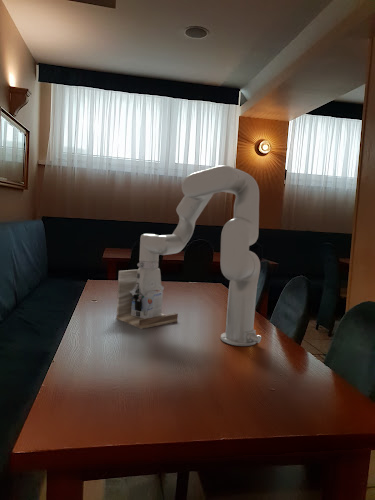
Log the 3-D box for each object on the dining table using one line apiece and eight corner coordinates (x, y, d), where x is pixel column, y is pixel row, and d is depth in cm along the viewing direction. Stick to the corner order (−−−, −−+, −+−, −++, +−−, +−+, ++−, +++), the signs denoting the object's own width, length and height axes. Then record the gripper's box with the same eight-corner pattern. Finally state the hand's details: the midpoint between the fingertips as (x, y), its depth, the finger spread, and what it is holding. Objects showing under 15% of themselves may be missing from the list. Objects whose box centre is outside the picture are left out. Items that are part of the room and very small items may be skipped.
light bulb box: (130, 315, 152) (131, 289, 151) (140, 312, 158) (141, 286, 157) (152, 320, 147) (154, 293, 146) (162, 317, 153) (163, 290, 152)
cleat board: (177, 321, 153) (180, 274, 151) (141, 328, 140) (144, 277, 139) (151, 312, 164) (154, 268, 162) (116, 318, 152) (118, 270, 150)
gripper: (136, 267, 142) (134, 314, 144) (171, 265, 154) (169, 308, 156) (124, 265, 147) (122, 310, 149) (159, 263, 160) (157, 304, 161)
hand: (146, 308), depth 152 cm, fingers closed on light bulb box, 7 cm apart
